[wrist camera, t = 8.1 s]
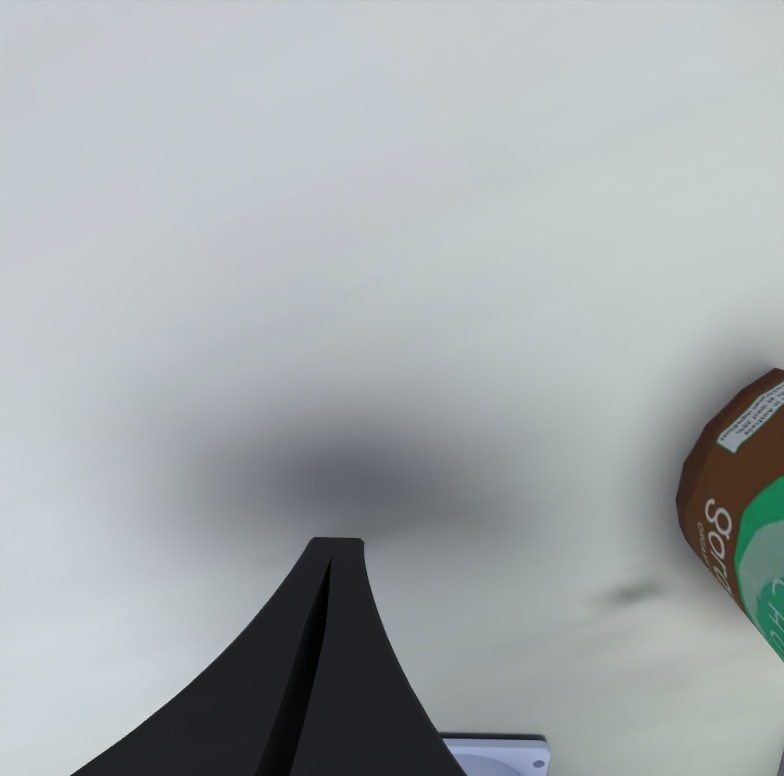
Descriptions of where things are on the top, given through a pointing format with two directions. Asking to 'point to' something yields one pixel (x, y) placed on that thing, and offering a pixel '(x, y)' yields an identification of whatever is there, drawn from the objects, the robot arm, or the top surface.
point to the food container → (742, 502)
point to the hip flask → (781, 767)
